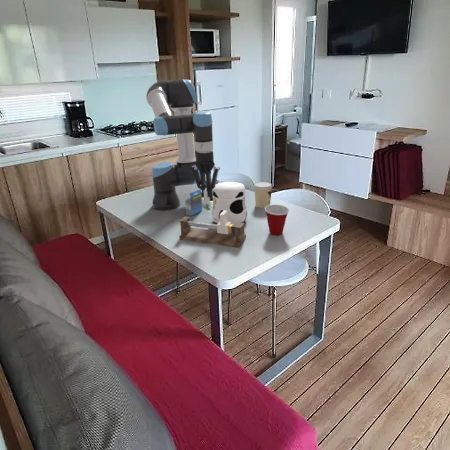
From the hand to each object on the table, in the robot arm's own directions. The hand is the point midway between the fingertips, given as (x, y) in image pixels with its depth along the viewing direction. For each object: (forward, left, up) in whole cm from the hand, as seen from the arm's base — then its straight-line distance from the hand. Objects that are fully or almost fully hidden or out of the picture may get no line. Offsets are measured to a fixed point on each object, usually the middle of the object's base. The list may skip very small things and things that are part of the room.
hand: (207, 203), depth 162 cm
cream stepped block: (+10, -5, -11) cm, 15 cm away
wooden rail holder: (+4, -5, -15) cm, 16 cm away
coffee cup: (+15, +40, -15) cm, 45 cm away
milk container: (+5, +15, -15) cm, 22 cm away
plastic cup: (+30, +8, -15) cm, 34 cm away
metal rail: (+4, -5, -10) cm, 12 cm away
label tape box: (-17, +21, -15) cm, 31 cm away
